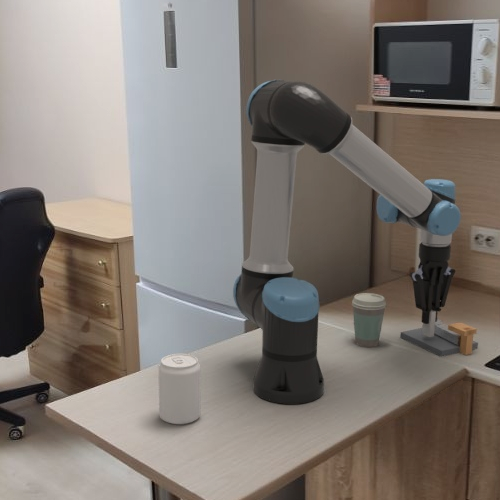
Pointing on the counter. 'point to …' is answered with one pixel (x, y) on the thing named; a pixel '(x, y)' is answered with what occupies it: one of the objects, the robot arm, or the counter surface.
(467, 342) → the block
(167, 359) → the beverage can
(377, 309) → the coffee cup
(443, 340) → the board
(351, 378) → the counter surface
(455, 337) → the link
